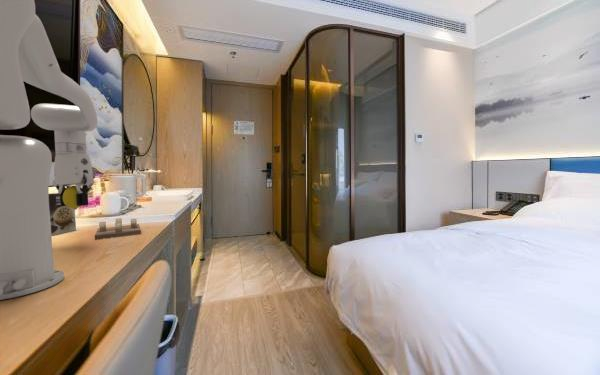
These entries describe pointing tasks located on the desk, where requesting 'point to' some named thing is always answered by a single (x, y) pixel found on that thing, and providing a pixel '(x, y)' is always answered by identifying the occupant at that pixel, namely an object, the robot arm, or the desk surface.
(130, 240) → the desk surface
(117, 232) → the peg cradle
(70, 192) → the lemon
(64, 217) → the coffee box
